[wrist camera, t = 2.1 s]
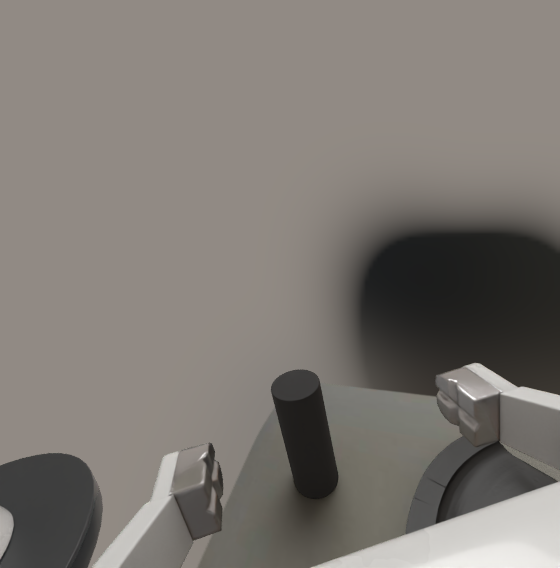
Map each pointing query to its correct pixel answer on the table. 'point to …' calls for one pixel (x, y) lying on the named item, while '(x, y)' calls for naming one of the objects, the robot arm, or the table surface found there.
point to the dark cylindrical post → (305, 432)
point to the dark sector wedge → (470, 482)
